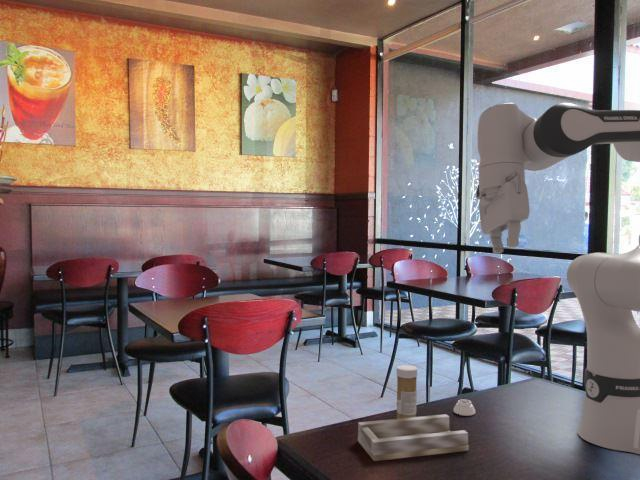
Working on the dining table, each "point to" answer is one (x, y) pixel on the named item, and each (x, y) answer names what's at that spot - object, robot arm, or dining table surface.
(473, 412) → the lidless jar
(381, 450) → the track
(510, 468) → the dining table surface
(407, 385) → the sprinkles bottle
